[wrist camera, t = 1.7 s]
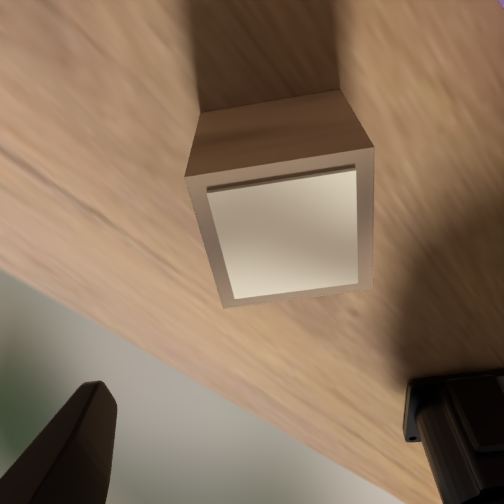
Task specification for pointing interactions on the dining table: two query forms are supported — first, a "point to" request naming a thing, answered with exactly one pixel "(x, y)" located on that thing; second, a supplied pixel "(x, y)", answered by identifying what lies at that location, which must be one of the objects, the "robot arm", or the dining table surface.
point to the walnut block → (284, 198)
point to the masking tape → (501, 3)
